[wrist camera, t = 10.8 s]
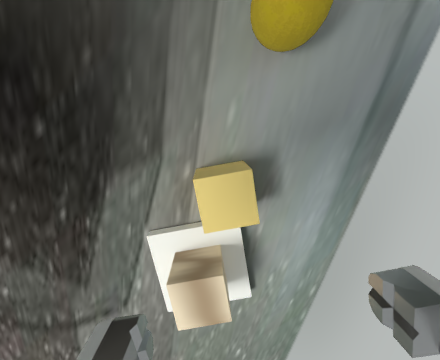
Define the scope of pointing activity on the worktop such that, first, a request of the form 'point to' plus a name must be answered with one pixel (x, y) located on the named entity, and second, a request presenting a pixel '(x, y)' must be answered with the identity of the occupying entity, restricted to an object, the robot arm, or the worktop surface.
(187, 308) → the beech brick
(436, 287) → the robot arm
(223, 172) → the mustard brick
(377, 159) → the worktop surface
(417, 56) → the worktop surface
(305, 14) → the lemon
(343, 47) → the worktop surface
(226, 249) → the plate
